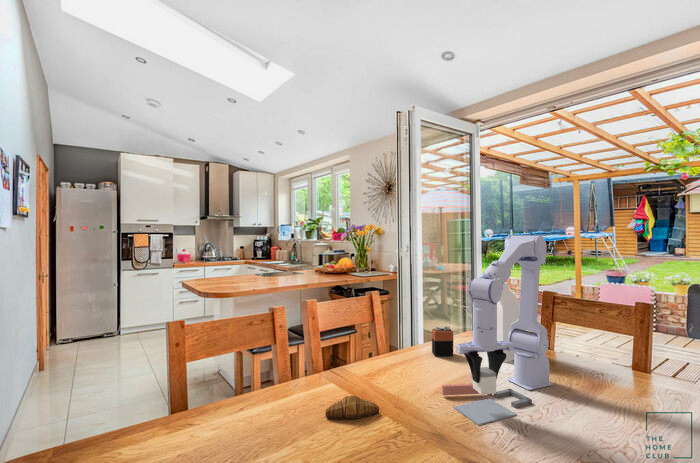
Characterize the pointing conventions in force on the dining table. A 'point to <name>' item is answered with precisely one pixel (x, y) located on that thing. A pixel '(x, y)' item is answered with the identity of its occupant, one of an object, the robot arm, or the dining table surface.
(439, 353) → the battery
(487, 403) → the slate mat
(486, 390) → the plug
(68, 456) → the dining table surface
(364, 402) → the croissant
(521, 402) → the bracket
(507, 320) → the milk
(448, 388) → the pink flat bar
